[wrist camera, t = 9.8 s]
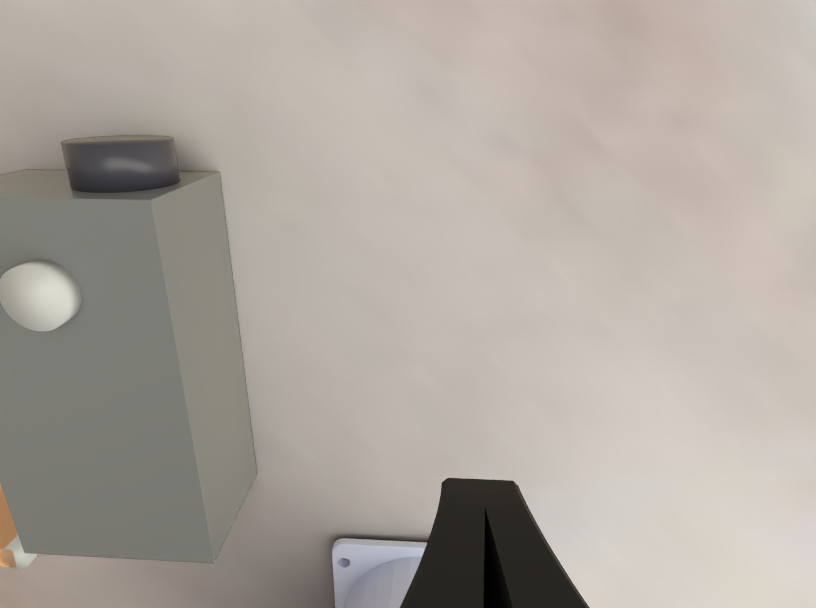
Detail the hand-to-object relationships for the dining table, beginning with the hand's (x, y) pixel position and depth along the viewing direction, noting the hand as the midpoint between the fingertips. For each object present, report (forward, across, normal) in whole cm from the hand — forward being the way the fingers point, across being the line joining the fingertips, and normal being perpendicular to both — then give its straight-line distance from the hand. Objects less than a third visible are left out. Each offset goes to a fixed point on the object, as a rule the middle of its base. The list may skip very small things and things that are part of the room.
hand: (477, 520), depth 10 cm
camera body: (+9, +11, +1) cm, 15 cm away
